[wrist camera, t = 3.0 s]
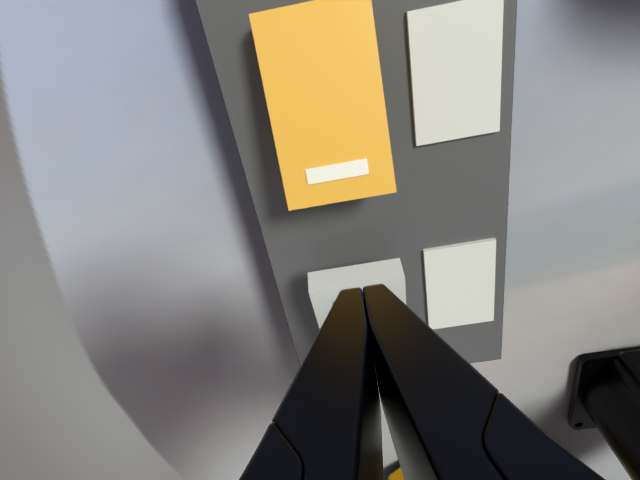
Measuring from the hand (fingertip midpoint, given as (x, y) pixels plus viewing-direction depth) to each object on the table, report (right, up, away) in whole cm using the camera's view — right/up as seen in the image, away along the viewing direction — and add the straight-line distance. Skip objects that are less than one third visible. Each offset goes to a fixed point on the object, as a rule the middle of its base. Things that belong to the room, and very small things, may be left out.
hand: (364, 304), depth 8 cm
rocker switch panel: (+1, +5, +11) cm, 12 cm away
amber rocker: (-1, +6, +5) cm, 8 cm away
